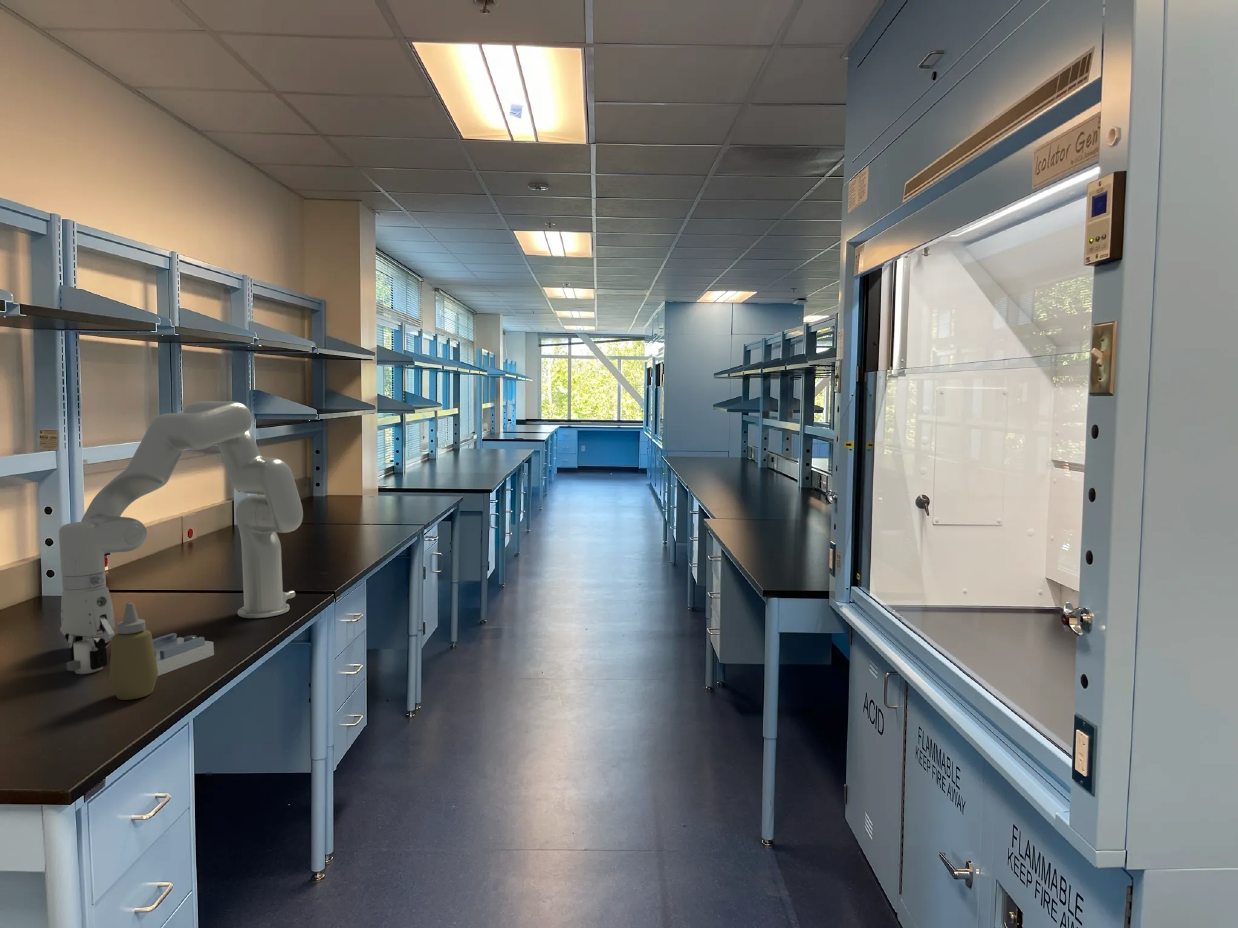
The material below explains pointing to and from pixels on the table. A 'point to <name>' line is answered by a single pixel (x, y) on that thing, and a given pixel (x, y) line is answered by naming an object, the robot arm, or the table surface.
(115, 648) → the squeeze bottle
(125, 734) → the table surface
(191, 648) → the grey fixture tray
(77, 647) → the white rounded cylinder
